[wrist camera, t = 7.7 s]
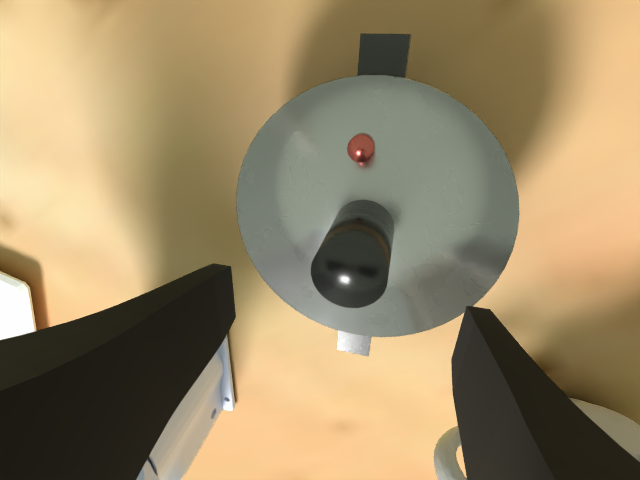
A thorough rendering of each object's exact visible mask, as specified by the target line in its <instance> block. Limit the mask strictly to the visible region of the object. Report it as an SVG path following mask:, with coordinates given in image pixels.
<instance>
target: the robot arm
mask: <svg viewBox="0 0 640 480" xmlns="http://www.w3.org/2000/svg"><path fill="white" fill-rule="evenodd" d="M235 317H236V314H235V304H234V294H233V283H232V273H231V266H225V265H219V264H211V265H208V266H206V267H203V268H201V269H199V270H196V271H194V272H192V273H190V274H187V275H185V276H183V277H181V278H179V279H176V280H174V281H172V282H170V283H168V284H165V285H163V286H161V287H159V288H157V289H154V290H152V291H150V292H147V293H145V294H143V295H140V296H138V297H135V298H133V299H131V300H128V301H126V302H123V303H121V304H119V305H116V306H113V307H111V308H108V309H105V310H103V311H100V312H97V313H94V314H91V315H88V316H85V317H82V318H79V319H76V320H73V321H70V322H67V323H63V324H59V325H56V326H52V327H49V328H45V329H42V330H38V331H34V332H31V333H27V334H23V335H19V336H15V337H11V338H7V339H2V340H0V480H181V479H182V478H183V476H184V475H185V474H186V472H187V470H188V469H189V467H190V465H191V464H192V462H193V460H194V458H195V456H196V455H197V453H198V451H199V449H200V448H201V446H202V444H203V442H204V441H205V439H206V437H207V435H208V434H209V432H210V430H211V428H212V427H213V425H214V423H215V421H216V420H217V418H218V416H219V414H220V413H221V411H222V409H224V410H227V411H232V410H233V409H234V407H235V399H234V391H233V382H232V373H231V365H230V356H229V347H228V339H227V333H228V332H229V330H230V328H231V326H232V324H233V322H234V320H235ZM452 386H453V397H454V404H455V410H456V416H457V422H458V428H459V434H460V440H461V445H462V451H463V457H464V463H465V469H466V475H467V480H640V462H639V461H638V460H637V459H636V458H634V457H633V456H632V455H631V454H630V453H628V452H627V451H626V450H625V449H624V448H623V447H621V446H620V445H619V444H618V443H617V442H616V441H615V440H613V439H612V438H611V437H610V436H609V435H608V434H607V433H606V432H605V431H603V430H602V429H601V428H600V427H599V426H598V425H597V424H596V423H595V422H593V421H592V420H591V419H590V418H589V417H588V416H587V415H586V414H585V413H584V412H583V411H582V410H581V409H580V408H579V407H577V406H576V405H575V404H574V403H573V402H572V401H571V400H570V399H569V398H568V397H567V395H566V394H565V393H564V392H563V391H562V390H561V389H560V388H559V387H558V386H557V385H556V384H555V383H554V382H553V381H552V380H551V379H550V378H549V377H548V376H547V375H546V374H545V373H544V372H543V371H542V369H541V368H540V367H539V366H538V365H537V364H536V363H535V362H534V361H533V359H532V358H531V357H530V356H529V355H528V354H527V353H526V352H525V350H524V349H523V348H522V347H521V346H520V345H519V343H518V342H517V341H516V340H515V339H514V337H513V336H512V335H511V334H510V333H509V332H508V330H507V329H506V328H505V327H504V325H503V324H502V323H501V322H500V321H499V319H498V318H497V317H496V316H495V315H494V314H493V312H492V311H491V310H490V309H484V308H478V307H472V306H466V310H465V313H464V317H463V320H462V324H461V327H460V331H459V335H458V338H457V342H456V345H455V349H454V352H453V356H452Z"/></svg>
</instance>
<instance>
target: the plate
mask: <svg viewBox="0 0 640 480" xmlns="http://www.w3.org/2000/svg"><path fill="white" fill-rule="evenodd" d="M34 331H37V330H36V324H35V317H34V311H33V305H32V298H31V292H30V287H29V286H28V285H27V284H26V283H25V282H24V281H21V280H19V279H17V278H15V277H12V276H10V275H8V274H6V273H3V272H1V271H0V340H2V339H7V338H11V337H15V336H19V335H23V334H27V333H31V332H34Z"/></svg>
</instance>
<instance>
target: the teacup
mask: <svg viewBox="0 0 640 480" xmlns="http://www.w3.org/2000/svg"><path fill="white" fill-rule="evenodd" d="M569 399H570V400H571V401H572V402H573V403H574V404H575V405H576V406H577V407H579V408H580V409H581V410H582V411H583V412H584V413H585V414H586V415H587V416H588V417H589V418H590V419H591V420H592V421H593V422H595V423H596V424H597V425H598V426H599V427H600V428H601V429H602V430H603V431H605V432H606V433H607V434H608V435H609V436H610V437H611V438H612V439H613V440H615V441H616V442H617V443H618V444H619V445H620V446H621V447H623V448H624V449H625V450H626V451H627V452H628V453H630V454H631V455H632V456H633V457H634V458H636V459H637V460H638V461H639V462H640V425H639V424H638V423H636V422H635V421H633V420H631V419H629V418H628V417H626V416H624V415H622V414H620V413H618V412H615V411H613V410H610V409H608V408H605V407H602V406H599V405H595V404H591V403H588V402H585V401H582V400H578V399H573V398H569ZM460 445H461V440H460V434H459V428H458V426H457V427H454V428H452V429H450V430H448V431H447V432H446V433H445V434H443V435H442V437H441V438H440V439H439V440H438V442H437V444H436V447H435V450H434V467H435V471H436V475H437V477H438V480H467V478H466V477H465V476H464V474H463V472H462V471H461V469H460V467H459V464H458V462H457V458H456V451H457V448H458V447H459V446H460Z"/></svg>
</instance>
